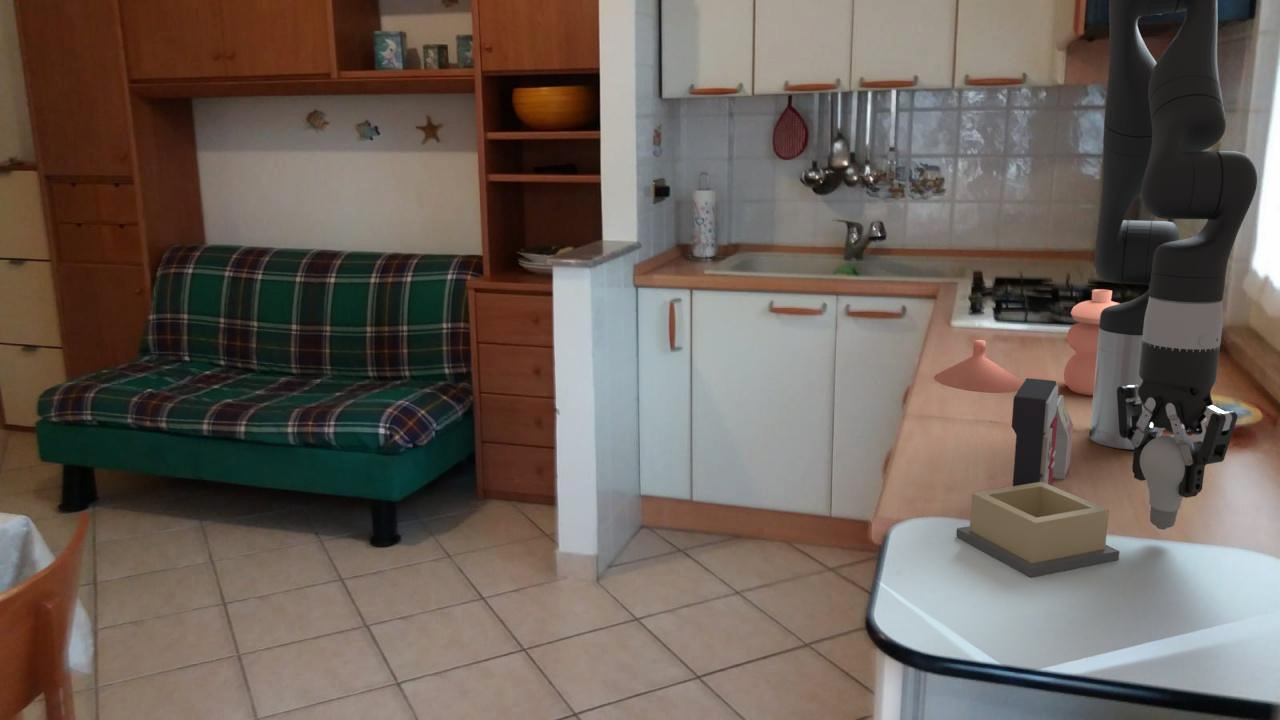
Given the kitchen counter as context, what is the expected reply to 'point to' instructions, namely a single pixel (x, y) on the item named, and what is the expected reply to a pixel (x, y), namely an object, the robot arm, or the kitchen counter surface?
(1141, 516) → the kitchen counter surface
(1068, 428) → the grey block
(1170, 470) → the lightbulb
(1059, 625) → the kitchen counter surface
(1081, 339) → the ceramic vessels
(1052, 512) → the bulb holder
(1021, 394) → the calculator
